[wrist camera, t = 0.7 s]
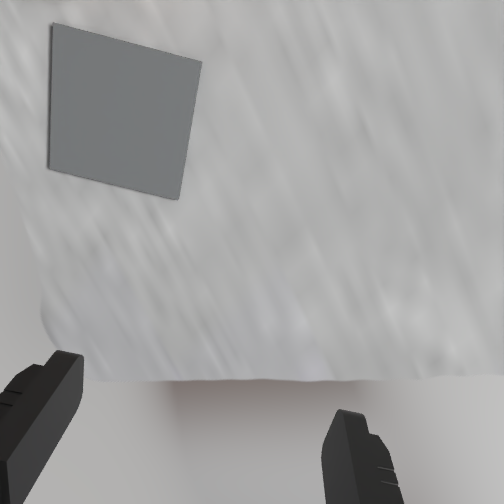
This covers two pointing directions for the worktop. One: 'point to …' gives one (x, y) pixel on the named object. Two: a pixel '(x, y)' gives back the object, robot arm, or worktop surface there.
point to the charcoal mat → (120, 111)
